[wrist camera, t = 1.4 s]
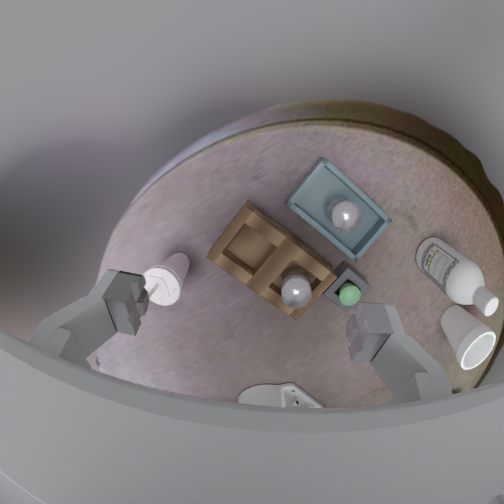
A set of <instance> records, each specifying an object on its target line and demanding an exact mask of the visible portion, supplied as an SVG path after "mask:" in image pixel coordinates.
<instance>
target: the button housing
mask: <svg viewBox="0 0 504 504" xmlns="http://www.w3.org/2000/svg"><path fill="white" fill-rule="evenodd" d="M335 274H336V276H337V278H336V280H335V281H334V282H333V283H332V284H331V285H330V286H329V287H328V288H327V289H326V290H325V291H324V292H323V294H324V295H325V296H326V297H328V298H329V299H330V300H332V301H333V302H334V303H336V304H337V305H338V306H340V307H341V308H342V309H344V310H345V311H346V312H348V311H349V310H350V309H351V308H352V307H353V306H354V305H355V304H354V305H351V306H346V305H343V304H342V303H341V301H340V299H339V291H338V290H337V289H338V288H339V287H340V286H341V285H342V284H343V283H344V282H345V281H346V280H347V279H349V280H351V281H352V282H353V283H354V285H355V286H357V287H358V289H359V290H360V293H361V296H360V299H361V298H362V297H363V296H364V295H365V294H366V293H367V292H368V291H369V290H370V289H371V287H370V285H369V284H368V282H367V281H366V280H365V279H364V278H363V277H362V276H361V275H360V274H358V273H357V272H356V271H355V270H354V269H353V268H351V267H350V266H349V265H348V264H347V263H346V262H344V261H343V262H342V264H341V265H340V266H339V267H338V268H337V269H336V270H335ZM360 299H359V300H360Z"/></svg>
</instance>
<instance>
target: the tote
mask: <svg viewBox="0 0 504 504" xmlns="http://www.w3.org/2000/svg"><path fill="white" fill-rule="evenodd" d="M337 195H340V196H344V197H346V198H347V199H349V200H350V201H352V202H353V203H355V204H356V205H357V206H359V208H360V209H361V211H362V214H363V221H362V224H361V226H360V227H359V228H358V229H357V230H356V231H354V232H352V233H342V232H340V231H339V230H338V229H337V228H336V227H335V226H334V225H333V223H332V222H331V221H330V220H329V218H328V217H327V215H326V213H325V206H326V203H327V201H328V200H329V199H330V198H332V197H334V196H337ZM285 203H286V205H287V206H288V207H289V208H290V209H292V210H293V211H294V212H296V213H297V214H298V215H299V216H301V217H302V218H303V219H304V220H305V221H307V222H308V223H309V224H310V225H312V226H313V227H314V228H315V229H317V230H318V231H319V232H320V233H321V234H323V235H324V236H325V237H326V238H327V239H329V240H330V241H331V242H332V243H333V244H335V245H336V246H337V247H338V248H339V249H340V250H342V251H343V252H344V253H345V254H346V255H347V256H349V257H350V258H351V259H352V260H353V261H354V262H355V263H356V262H357V260H358V259H359V258H360V257H361V256H362V255H363V254H364V253H365V252H366V250H367V249H368V248H369V247H370V246H371V245H372V244H373V242H374V241H375V240H376V239H377V238H378V237H379V236H380V234H381V233H382V232H383V231H384V230H385V228H386V227H387V226H388V225H389V224H390V222H391V221H392V220H391V219H390V218H389V217H388V216H387V215H386V214H385V213H384V212H383V211H382V210H381V209H380V208H379V207H378V206H377V205H376V204H375V203H374V202H373V201H372V200H371V199H370V198H369V197H368V196H367V195H366V194H364V193H363V192H362V191H361V190H360V189H359V188H358V187H357V186H356V185H355V184H354V183H353V182H352V181H350V180H349V179H348V178H347V177H346V176H345V175H344V174H343V173H342V172H340V171H339V170H338V169H337V168H336V167H335V166H334V165H332V164H331V163H330V162H329V161H328V160H327V159H325V158H322V157H321V158H320V159H319V160H318V161H317V163H316V164H315V165H314V166H313V167H312V169H311V170H310V171H309V172H308V174H307V175H306V176H305V177H304V178H303V180H302V181H301V182H300V183H299V185H298V186H297V187H296V188H295V190H294V191H293V192H292V193H291V194H290V196H289V197H288V198H287V199H286V201H285Z"/></svg>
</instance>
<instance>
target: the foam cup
mask: <svg viewBox="0 0 504 504" xmlns="http://www.w3.org/2000/svg"><path fill="white" fill-rule="evenodd" d="M440 323H441V327H442V329H443V331H444V333H445V335H446V337H447V339H448V341H449V343H450V345H451V347H452V349H453V351H454V353H455V356H456V360H457V361H458V363H459V364H460V366H461V367H462V368H463V369H464V370H468V369H472V368H474V367H476V366H478V365H479V364H480V363H481V362H482V361H483V360H484V359H486V357H487V356H488V355H489V353H490V352H491V351H492V348H493V346H494V344H495V338H496V335H495V334H494V332H493V331H492V330H491V329H490V328H489V327H488V326H487V325H485V324H483V323H482V322H481V321H479V320H478V319H477V318H475V317H474V316H473V315H471V314H470V313H469V312H467V311H466V310H464V309H463V308H462V307H460V306H459V305H453V306H451V307H449V308H448V309H447V310H446V311H445V312H444V314H443V315H442V318H441V321H440Z"/></svg>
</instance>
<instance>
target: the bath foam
mask: <svg viewBox="0 0 504 504" xmlns="http://www.w3.org/2000/svg"><path fill="white" fill-rule="evenodd" d="M416 262H417V265H418V267H419V268H420V269H421V270H422V271H423V272H424V273H425V274H426V275H427V276H428V277H429V278H430V279H431V280H432V281H433V282H434V283H435V284H436V285H437V286H438V287H439V288H440V289H441V290H442V291H443V292H444V293H445V294H446V295H447V296H448V297H449V298H450V299H451V300H453V301H454V302H456V303H459V304H463V305H469V304H474V305H475V306H476V307H477V308H478V309H479V310H480V311H481V312H482V313H483V314H484V315H485V316H490V315H492V314H493V313H494V312H495V310H496V309H497V307H498V298H497V297H496V296H495V295H493V294H492V293H491V292H490V291H489V290H488V289H486V288H485V284H484V278H483V275H482V272H481V270H480V269H479V267H478V266H477V265H476V264H475V263H474V262H473V261H472V260H471V259H469V258H468V257H466V256H465V255H463V254H462V253H460V252H459V251H458V250H456V249H455V248H453V247H452V246H450V245H449V244H447V243H445V242H444V241H442V240H441V239H439V238H436V237H431V238H428V239H426V240H425V241H423V242H422V243H421V245H420V246H419V248H418V250H417V254H416Z"/></svg>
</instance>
